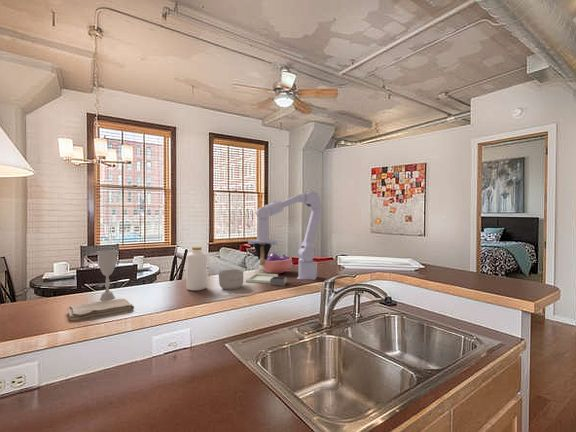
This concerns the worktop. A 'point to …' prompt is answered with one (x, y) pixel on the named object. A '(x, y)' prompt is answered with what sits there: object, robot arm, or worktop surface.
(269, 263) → the cell model
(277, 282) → the grey square box
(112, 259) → the chalice
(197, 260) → the potion bottle
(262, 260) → the dowel
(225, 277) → the teacup
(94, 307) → the washcloth
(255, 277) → the tray
